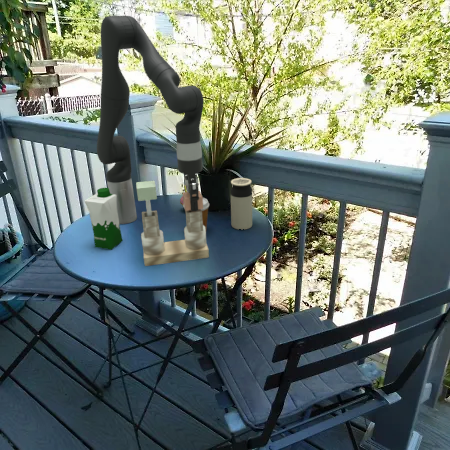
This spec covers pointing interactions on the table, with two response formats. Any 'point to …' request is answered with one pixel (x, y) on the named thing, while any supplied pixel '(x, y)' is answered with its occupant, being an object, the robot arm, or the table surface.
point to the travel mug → (241, 203)
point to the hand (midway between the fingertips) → (193, 206)
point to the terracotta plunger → (187, 201)
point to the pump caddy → (174, 250)
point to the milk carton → (104, 219)
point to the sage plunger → (146, 193)
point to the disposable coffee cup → (204, 212)
